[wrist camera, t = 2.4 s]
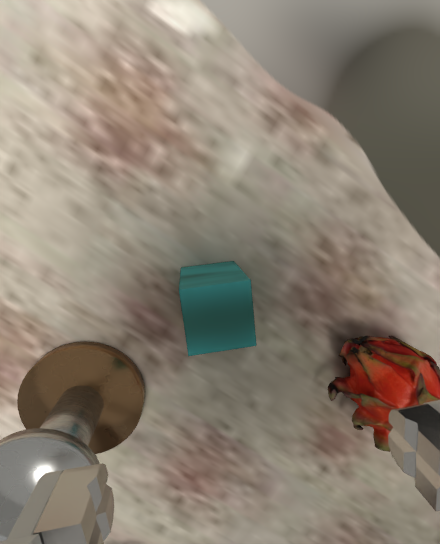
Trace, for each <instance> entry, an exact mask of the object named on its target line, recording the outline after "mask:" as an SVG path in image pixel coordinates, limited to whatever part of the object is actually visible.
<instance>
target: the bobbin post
mask: <svg viewBox="0 0 440 544" xmlns="http://www.w3.org/2000/svg"><path fill="white" fill-rule="evenodd" d="M144 398H145V389H144V383H143V379H142V376H141V374H140V372H139V370H138V369H137V367H136V366H135V364H134V363H133V362H132V361H131V360H130V359H129V358H128V357H127V356H126V355H124V354H123V353H122V352H120V351H118V350H116V349H115V348H112V347H110V346H107V345H104V344H101V343H95V342H75V343H70V344H66V345H63V346H60V347H58V348H56V349H54V350H52V351H50V352H49V353H47V354H46V355H45V356H44V357H43V358H41V359H40V360H39V361H38V362H37V364H36V365H35V366H34V367H33V368H32V369H31V370H30V371H29V372H28V373H27V375H26V376H25V378H24V379H23V381H22V384H21V386H20V389H19V393H18V411H19V415H20V418H21V420H22V423H23V424H24V426H25V428H26V429H27V430H23V431H19V432H16V433H13V434H11V435H9V436H7V437H5V438H3V439H2V440H0V535H2V536H4V537H7V538H8V536H9V534H10V533H11V531H12V529H13V527H14V525H15V523H16V521H17V520H18V518H19V516H20V514H21V512H22V510H23V508H24V507H25V505H26V503H27V501H28V499H29V497H30V495H31V493H32V492H33V490H34V488H35V486H36V484H37V482H38V480H39V479H40V477H41V476H43V475H44V474H45V473H48V472H55V471H62V470H65V469H71V468H77V467H83V466H90V465H96V464H99V461H98V459H97V457H96V455H95V454H98V453H102V452H105V451H107V450H110V449H112V448H114V447H116V446H117V445H119V444H120V443H122V442H123V441H124V440H125V439H126V438H127V437H128V436H129V435H130V434H131V433H132V432H133V430H134V429H135V428H136V426H137V424H138V422H139V419H140V416H141V412H142V408H143V403H144Z"/></svg>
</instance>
